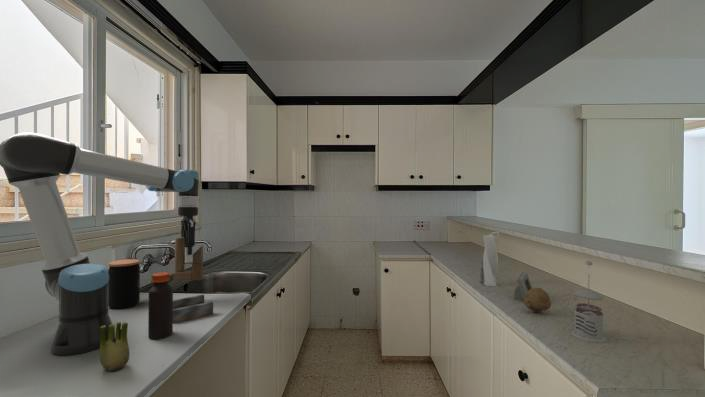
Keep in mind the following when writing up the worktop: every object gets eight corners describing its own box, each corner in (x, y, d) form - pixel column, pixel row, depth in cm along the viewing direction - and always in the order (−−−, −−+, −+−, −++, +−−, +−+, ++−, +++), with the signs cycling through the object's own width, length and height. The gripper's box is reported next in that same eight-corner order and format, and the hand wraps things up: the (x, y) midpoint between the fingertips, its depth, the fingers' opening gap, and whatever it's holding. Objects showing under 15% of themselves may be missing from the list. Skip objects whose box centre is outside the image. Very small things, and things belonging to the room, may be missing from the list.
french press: (598, 345, 100) (600, 265, 100) (558, 331, 110) (559, 259, 110) (612, 338, 105) (613, 262, 105) (572, 325, 115) (573, 256, 115)
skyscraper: (496, 283, 172) (497, 231, 172) (500, 287, 164) (501, 233, 164) (479, 282, 173) (480, 231, 173) (483, 286, 165) (483, 232, 165)
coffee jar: (144, 304, 134) (144, 261, 134) (115, 311, 125) (115, 265, 125) (132, 299, 140) (132, 258, 140) (103, 306, 131) (103, 262, 131)
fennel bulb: (97, 373, 82) (97, 326, 82) (111, 363, 87) (111, 319, 87) (119, 373, 82) (119, 326, 82) (132, 363, 87) (132, 319, 87)
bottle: (175, 335, 105) (176, 274, 105) (152, 342, 100) (152, 277, 100) (168, 329, 109) (168, 270, 109) (145, 335, 104) (145, 274, 104)
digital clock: (529, 304, 138) (529, 280, 138) (507, 299, 144) (507, 276, 144) (541, 296, 149) (541, 273, 149) (520, 292, 156) (521, 270, 156)
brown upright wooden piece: (200, 280, 136) (201, 237, 136) (173, 281, 134) (173, 238, 133) (203, 278, 140) (203, 236, 139) (175, 279, 137) (176, 237, 137)
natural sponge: (556, 315, 125) (557, 290, 125) (539, 318, 122) (540, 292, 122) (536, 307, 134) (536, 284, 134) (520, 310, 131) (520, 285, 131)
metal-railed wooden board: (172, 323, 114) (172, 310, 114) (164, 313, 124) (164, 301, 124) (213, 314, 123) (213, 302, 123) (203, 305, 133) (203, 294, 133)
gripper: (204, 207, 132) (202, 263, 132) (192, 205, 145) (191, 257, 145) (183, 207, 127) (182, 265, 127) (173, 205, 140) (172, 259, 140)
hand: (187, 261), depth 136 cm, fingers closed on brown upright wooden piece, 5 cm apart
